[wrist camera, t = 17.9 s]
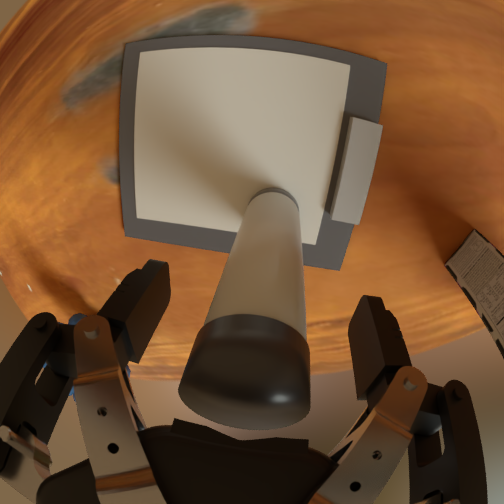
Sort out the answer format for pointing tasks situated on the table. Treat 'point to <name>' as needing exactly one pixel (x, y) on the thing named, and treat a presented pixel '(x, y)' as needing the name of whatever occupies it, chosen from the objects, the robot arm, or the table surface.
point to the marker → (255, 326)
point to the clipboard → (246, 138)
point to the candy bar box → (482, 281)
